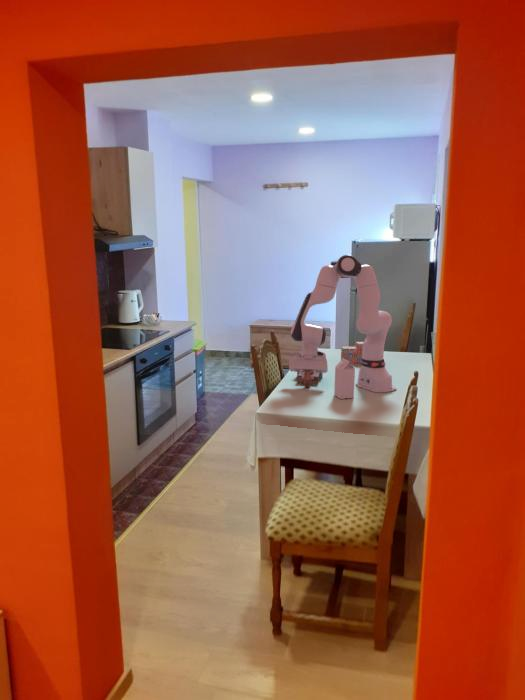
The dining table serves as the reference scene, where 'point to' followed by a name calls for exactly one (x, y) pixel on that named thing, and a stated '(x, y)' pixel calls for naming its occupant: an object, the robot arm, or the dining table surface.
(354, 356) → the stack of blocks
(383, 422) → the dining table surface
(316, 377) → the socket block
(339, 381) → the milk carton
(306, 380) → the dowel
